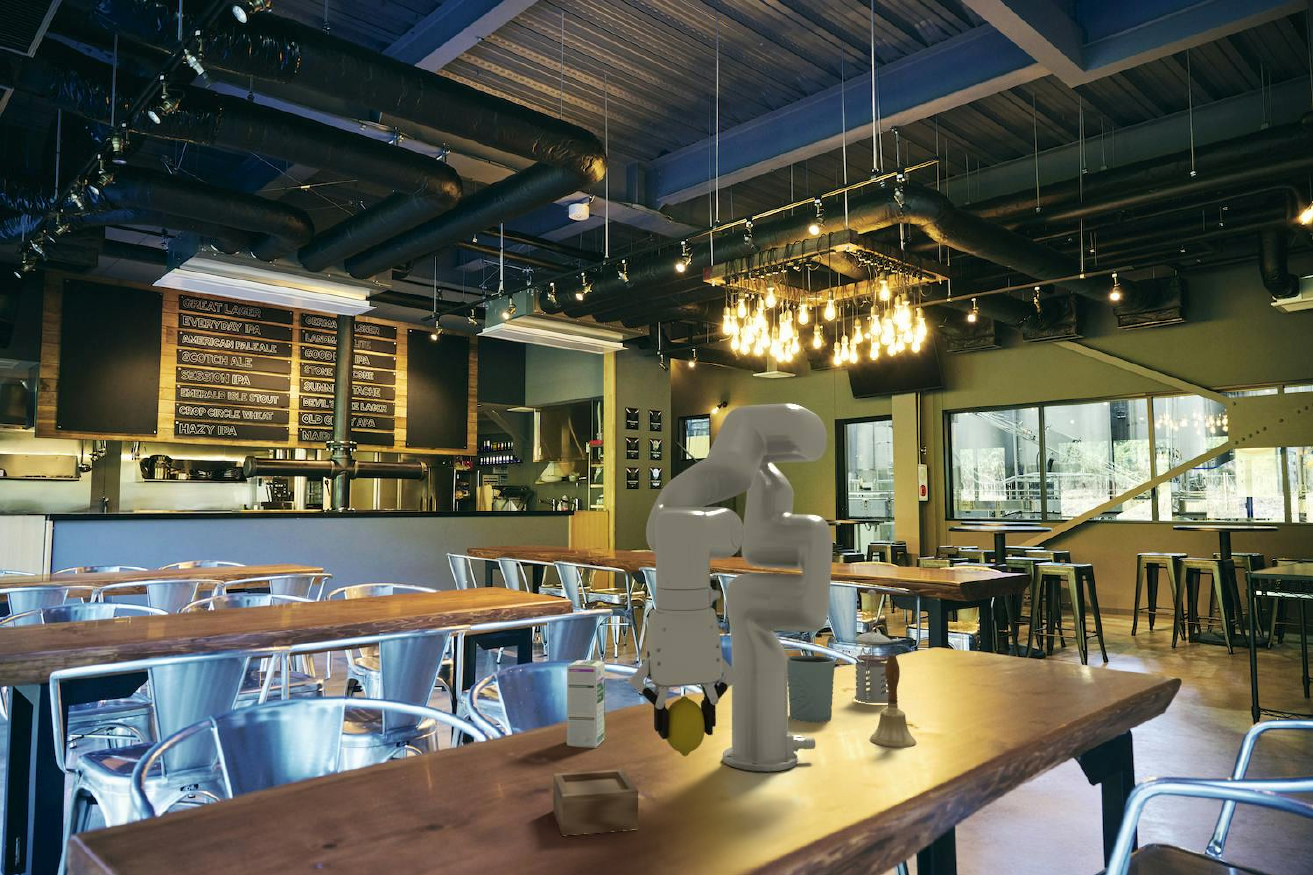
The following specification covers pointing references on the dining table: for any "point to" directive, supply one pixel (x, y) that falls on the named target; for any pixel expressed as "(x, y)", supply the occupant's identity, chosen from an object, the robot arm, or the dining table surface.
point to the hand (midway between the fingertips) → (685, 732)
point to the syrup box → (586, 703)
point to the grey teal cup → (810, 687)
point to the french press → (871, 668)
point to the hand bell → (892, 713)
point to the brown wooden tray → (595, 802)
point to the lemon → (685, 725)
